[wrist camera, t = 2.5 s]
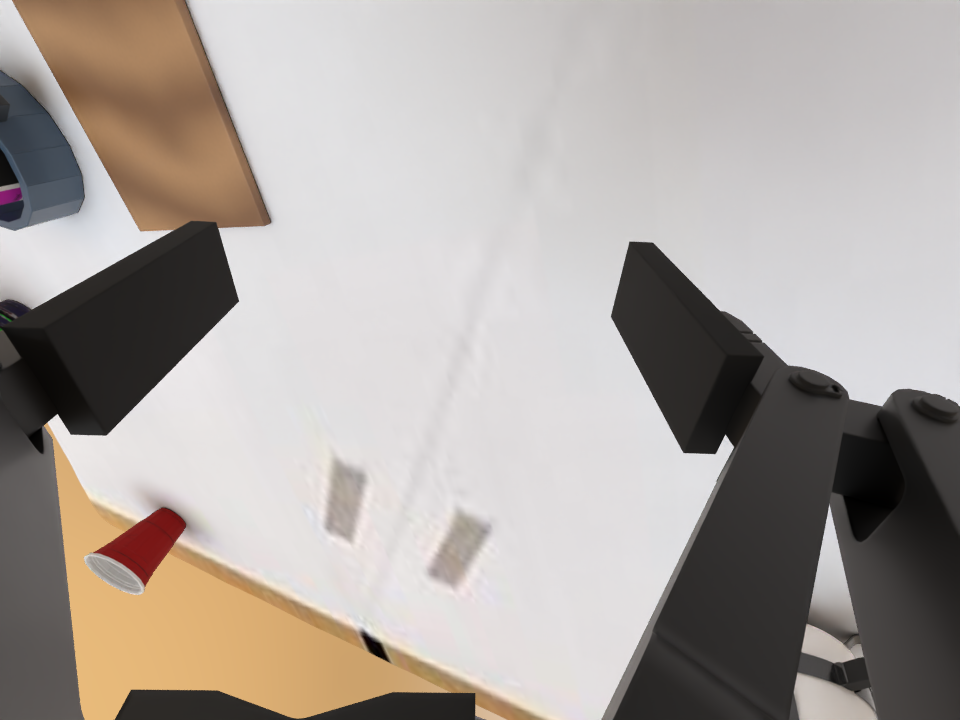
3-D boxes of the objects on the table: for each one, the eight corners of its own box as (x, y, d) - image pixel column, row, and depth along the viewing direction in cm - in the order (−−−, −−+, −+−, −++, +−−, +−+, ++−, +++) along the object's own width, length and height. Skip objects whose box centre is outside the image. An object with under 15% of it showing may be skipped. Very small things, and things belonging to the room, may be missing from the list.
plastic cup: (209, 535, 81) (150, 598, 72) (180, 537, 86) (122, 595, 77) (166, 495, 77) (98, 557, 67) (139, 499, 82) (72, 557, 73)
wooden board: (-9, -58, 30) (-23, -60, 30) (136, -124, 25) (123, -129, 25) (147, 228, 41) (139, 231, 41) (271, 223, 36) (264, 226, 35)
